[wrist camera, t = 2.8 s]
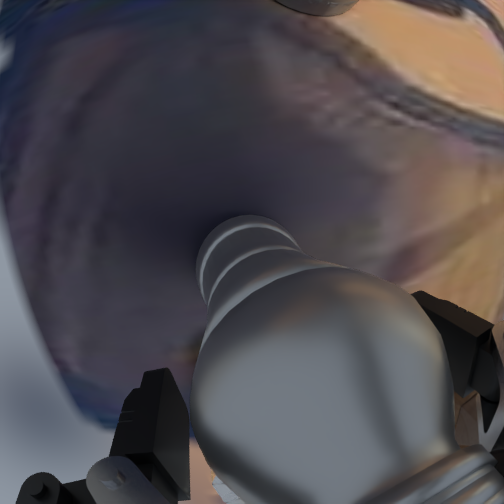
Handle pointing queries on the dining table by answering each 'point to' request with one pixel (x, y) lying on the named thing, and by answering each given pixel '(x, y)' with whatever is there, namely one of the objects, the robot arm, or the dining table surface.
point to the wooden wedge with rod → (466, 420)
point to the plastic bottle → (323, 382)
